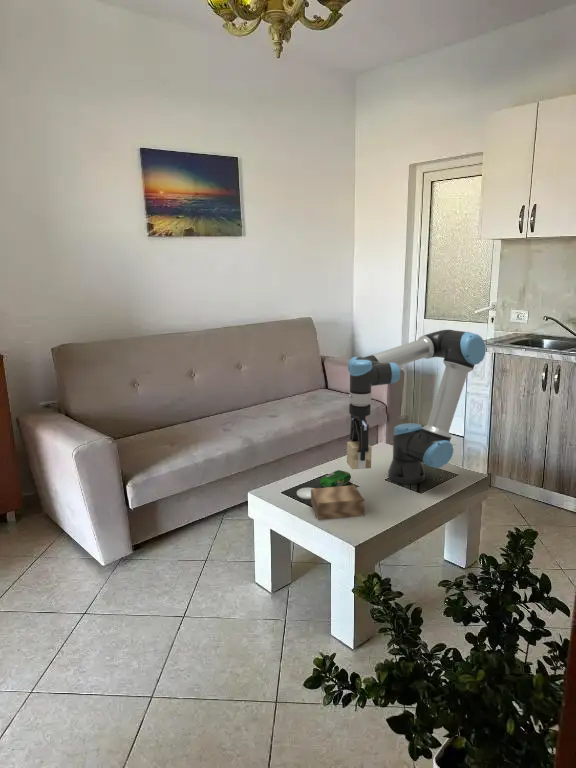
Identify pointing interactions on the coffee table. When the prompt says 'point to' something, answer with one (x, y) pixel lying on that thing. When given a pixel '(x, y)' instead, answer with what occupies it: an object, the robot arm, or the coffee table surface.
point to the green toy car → (335, 479)
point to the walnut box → (337, 502)
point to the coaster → (304, 493)
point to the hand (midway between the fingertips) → (358, 464)
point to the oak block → (353, 455)
